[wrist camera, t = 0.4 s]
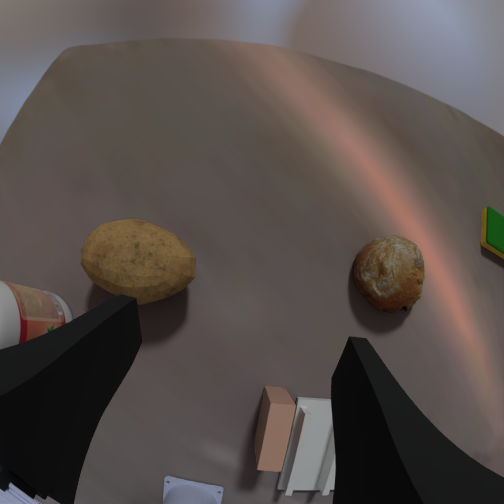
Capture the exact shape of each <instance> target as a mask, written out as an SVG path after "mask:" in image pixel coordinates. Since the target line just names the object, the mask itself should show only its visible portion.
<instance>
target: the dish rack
mask: <svg viewBox="0 0 504 504" xmlns="http://www.w3.org/2000/svg"><path fill="white" fill-rule="evenodd" d="M335 469H336V465H335V446H334V433H333V422H332V410H331V399H318V398H304V397H297V400H296V408H295V413H294V418H293V423H292V427H291V432H290V436H289V441H288V445H287V450H286V454H285V458H284V462H283V467H282V471H281V472H280V476H279V480H278V484H277V488H278V490H284V493H285V495H292V492H293V490H320V492H321V494H322V495H328V494H329V492H330V490H334V484H335Z"/></svg>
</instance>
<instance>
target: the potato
mask: <svg viewBox="0 0 504 504" xmlns="http://www.w3.org/2000/svg"><path fill="white" fill-rule="evenodd" d="M81 265H82V267H83V269H84V270H85V272H86V273H87V275H88V277H89V278H90V279H91V281H93V282H94V283H95V284H97V285H98V286H100V287H101V288H102V289H104V290H106V291H108V292H110V293H111V294H113V295H115V296H119V295H121V294H123V295H127V296H131V297H135V298H137V304H140V305H143V304H147V303H150V302H154V301H157V300H161V299H164V298H167V297H170V296H172V295H174V294H176V293H178V292H180V291H182V290H184V288H185V287H186V286H187V285H188V284H189V283H190V282H191V281H192V280H193V279H194V278H195V265H196V257H195V256H194V255H193V253H192V252H191V251H190V249H189V248H188V246H187V245H186V244H185V242H184V241H183V240H181V239H180V238H178V237H177V236H175V235H174V234H173V233H171V232H169V231H167V230H165V229H163V228H161V227H158V226H156V225H154V224H151V223H149V222H146V221H142V220H138V219H127V220H119V221H113V222H109V223H105V224H102V225H100V226H99V227H98V228H96V229H95V230H94V231H93V232H92V233H91V234H89V236H88V237H87V239H86V241H85V243H84V245H83V246H82V249H81Z"/></svg>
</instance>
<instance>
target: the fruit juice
mask: <svg viewBox="0 0 504 504" xmlns="http://www.w3.org/2000/svg"><path fill="white" fill-rule="evenodd" d="M72 320H73V319H72V315H71V312H70V309H69V307H68V306H67V304H66V303H65V301H64V300H63V299H62V298H61V297H59V296H58V295H56V294H54V293H52V292H49V291H44V290H40V289H35V288H31V287H26V286H22V285H17V284H13V283H9V282H5V281H1V280H0V349H3V348H7V347H10V346H14V345H17V344H20V343H23V342H26V341H28V340H31V339H33V338H36V337H38V336H41V335H43V334H45V333H48V332H50V331H52V330H54V329H56V328H58V327H60V326H62V325H64V324H66V323H68V322H70V321H72Z"/></svg>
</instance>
